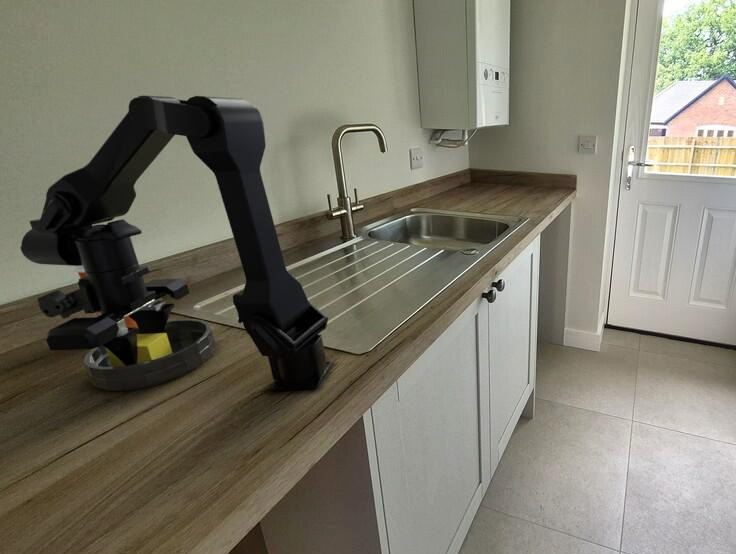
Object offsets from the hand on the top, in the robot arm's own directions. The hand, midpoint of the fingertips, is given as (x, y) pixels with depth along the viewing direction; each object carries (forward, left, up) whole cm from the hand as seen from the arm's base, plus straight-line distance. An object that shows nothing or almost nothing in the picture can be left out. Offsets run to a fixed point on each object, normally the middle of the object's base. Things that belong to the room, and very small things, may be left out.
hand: (143, 358), depth 65 cm
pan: (-2, -1, -1) cm, 2 cm away
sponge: (0, 0, -1) cm, 1 cm away
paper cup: (+13, -14, -2) cm, 19 cm away
